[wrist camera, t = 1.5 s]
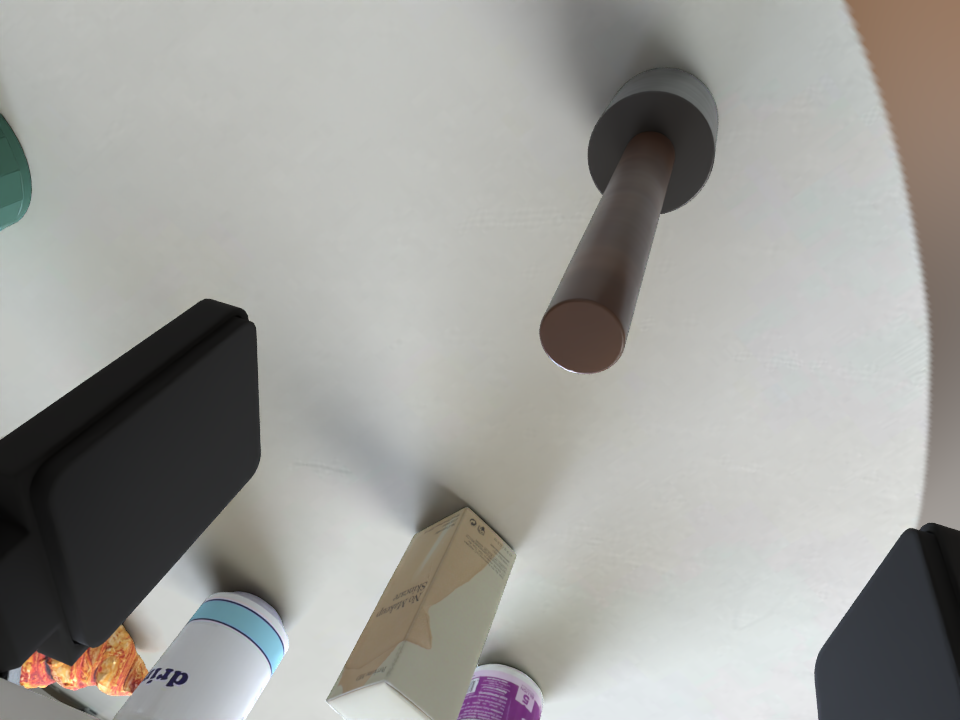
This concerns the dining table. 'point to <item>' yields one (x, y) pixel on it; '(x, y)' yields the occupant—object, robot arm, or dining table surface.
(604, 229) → the dowel with disc base
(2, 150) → the jar
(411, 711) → the box
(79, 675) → the croissant
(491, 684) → the pill bottle
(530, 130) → the dining table surface
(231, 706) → the beverage can
